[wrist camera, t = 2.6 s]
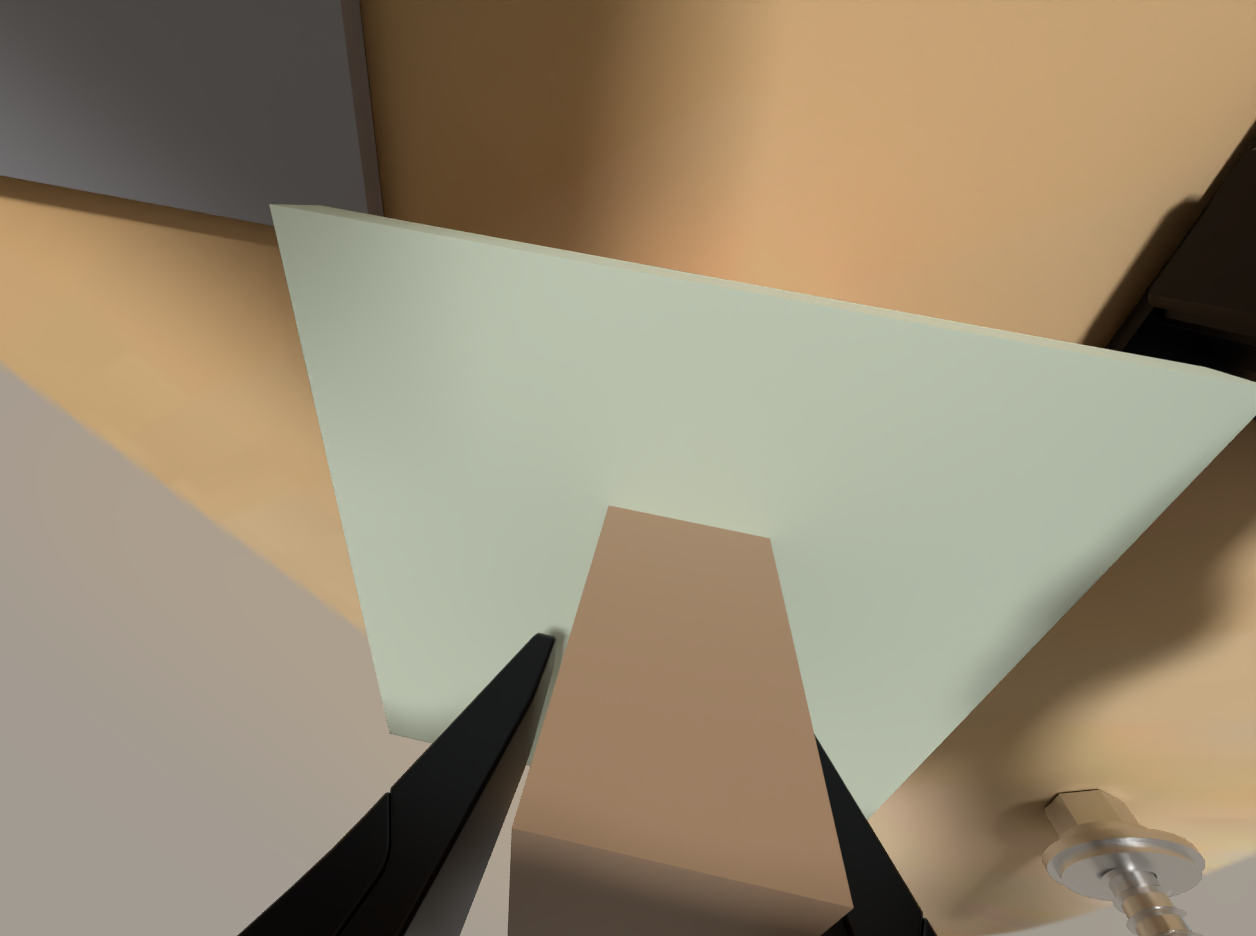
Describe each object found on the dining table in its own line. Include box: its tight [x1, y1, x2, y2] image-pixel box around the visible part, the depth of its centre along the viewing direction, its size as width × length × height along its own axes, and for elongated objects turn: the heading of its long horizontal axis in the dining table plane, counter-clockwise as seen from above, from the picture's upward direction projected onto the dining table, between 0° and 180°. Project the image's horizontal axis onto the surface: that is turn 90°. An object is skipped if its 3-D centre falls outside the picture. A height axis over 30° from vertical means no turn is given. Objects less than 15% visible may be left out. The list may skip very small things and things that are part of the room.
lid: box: [269, 204, 1256, 936], centre depth 8 cm, size 14×14×6 cm
